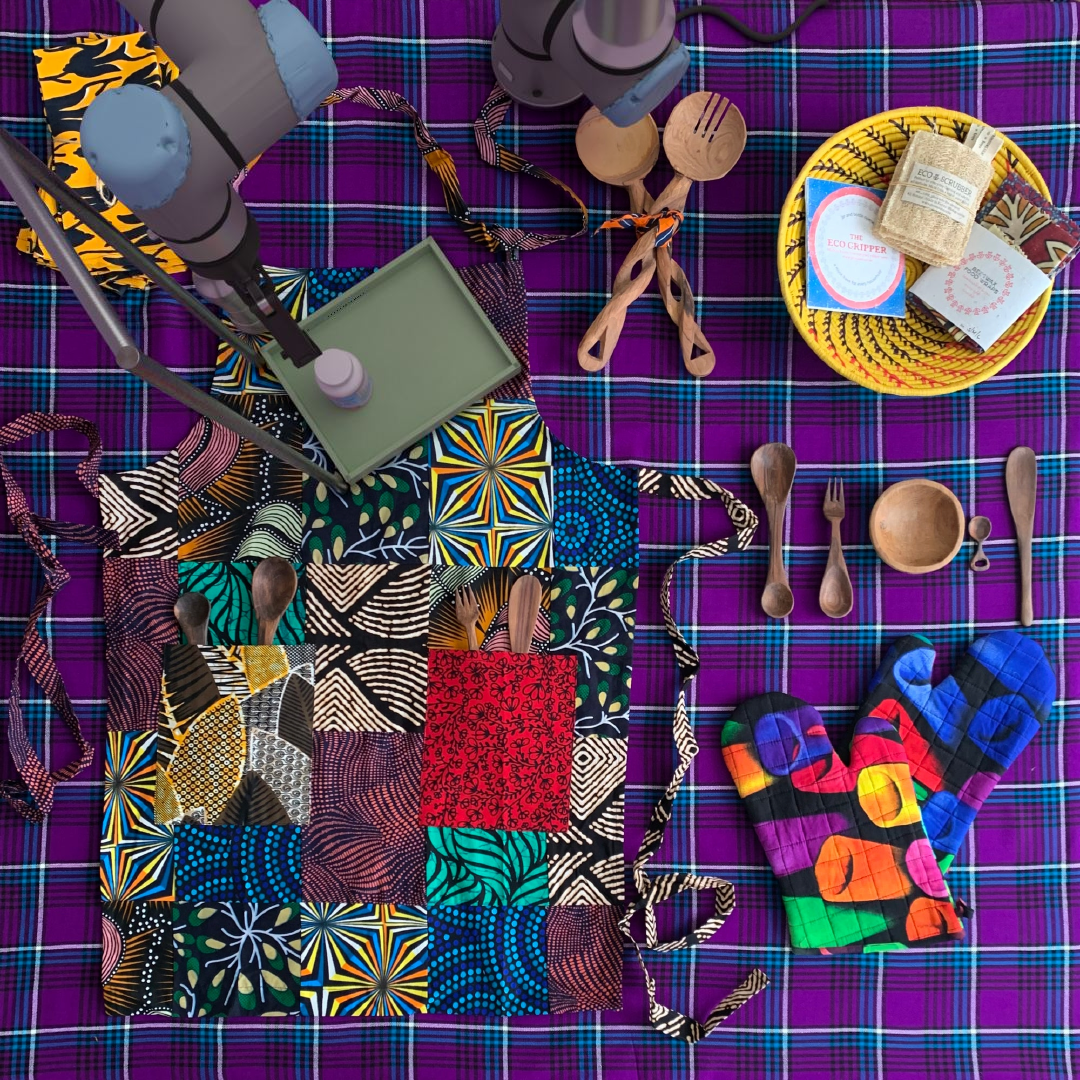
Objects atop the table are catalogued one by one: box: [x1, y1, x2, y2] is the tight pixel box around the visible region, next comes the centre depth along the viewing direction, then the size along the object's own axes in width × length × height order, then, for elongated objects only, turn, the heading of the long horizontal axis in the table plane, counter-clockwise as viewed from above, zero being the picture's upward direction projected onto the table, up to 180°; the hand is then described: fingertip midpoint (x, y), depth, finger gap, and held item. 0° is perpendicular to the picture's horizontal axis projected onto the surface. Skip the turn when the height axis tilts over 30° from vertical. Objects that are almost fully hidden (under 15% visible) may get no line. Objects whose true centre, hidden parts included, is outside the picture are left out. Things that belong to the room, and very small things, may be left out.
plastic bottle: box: [191, 270, 269, 335], centre depth 115 cm, size 6×7×20 cm
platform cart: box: [0, 124, 522, 495], centre depth 93 cm, size 30×22×62 cm
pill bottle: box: [314, 349, 373, 410], centre depth 118 cm, size 6×6×11 cm
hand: (278, 307), depth 100 cm, fingers open, 13 cm apart
